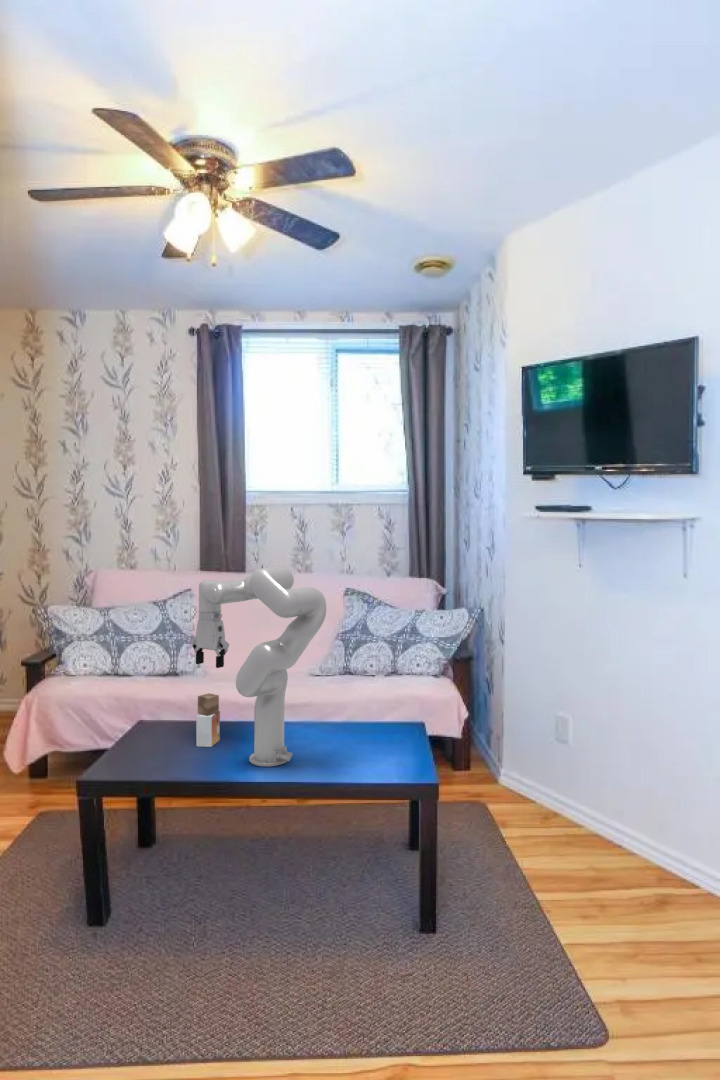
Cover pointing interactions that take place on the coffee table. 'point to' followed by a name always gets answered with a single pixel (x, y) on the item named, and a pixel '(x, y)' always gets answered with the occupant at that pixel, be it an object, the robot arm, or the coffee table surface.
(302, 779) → the coffee table surface
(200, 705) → the walnut block
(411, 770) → the coffee table surface
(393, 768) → the coffee table surface
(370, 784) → the coffee table surface
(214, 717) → the small box
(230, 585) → the robot arm
